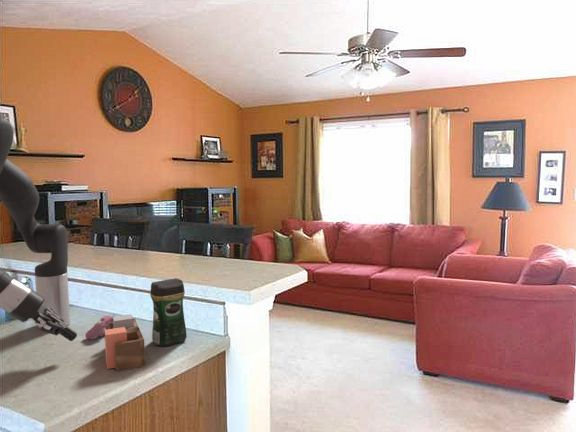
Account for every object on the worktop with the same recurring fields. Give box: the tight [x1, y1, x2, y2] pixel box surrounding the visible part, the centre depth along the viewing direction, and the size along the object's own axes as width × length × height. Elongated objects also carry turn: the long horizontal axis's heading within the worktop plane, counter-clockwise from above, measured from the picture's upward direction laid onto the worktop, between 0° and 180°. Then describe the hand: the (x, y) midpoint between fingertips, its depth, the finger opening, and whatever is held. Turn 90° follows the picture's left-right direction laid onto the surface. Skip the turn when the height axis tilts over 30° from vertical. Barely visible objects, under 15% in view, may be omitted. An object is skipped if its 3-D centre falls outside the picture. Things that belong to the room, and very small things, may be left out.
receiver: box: [109, 318, 146, 372], centre depth 120 cm, size 18×7×7 cm, turn 26°
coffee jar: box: [149, 277, 188, 347], centre depth 129 cm, size 10×8×19 cm
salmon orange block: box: [104, 327, 127, 370], centre depth 114 cm, size 4×5×9 cm
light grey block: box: [113, 313, 134, 329], centre depth 124 cm, size 4×5×9 cm
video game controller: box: [84, 314, 115, 340], centre depth 136 cm, size 10×5×7 cm, turn 170°
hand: (74, 337), depth 119 cm, fingers closed
